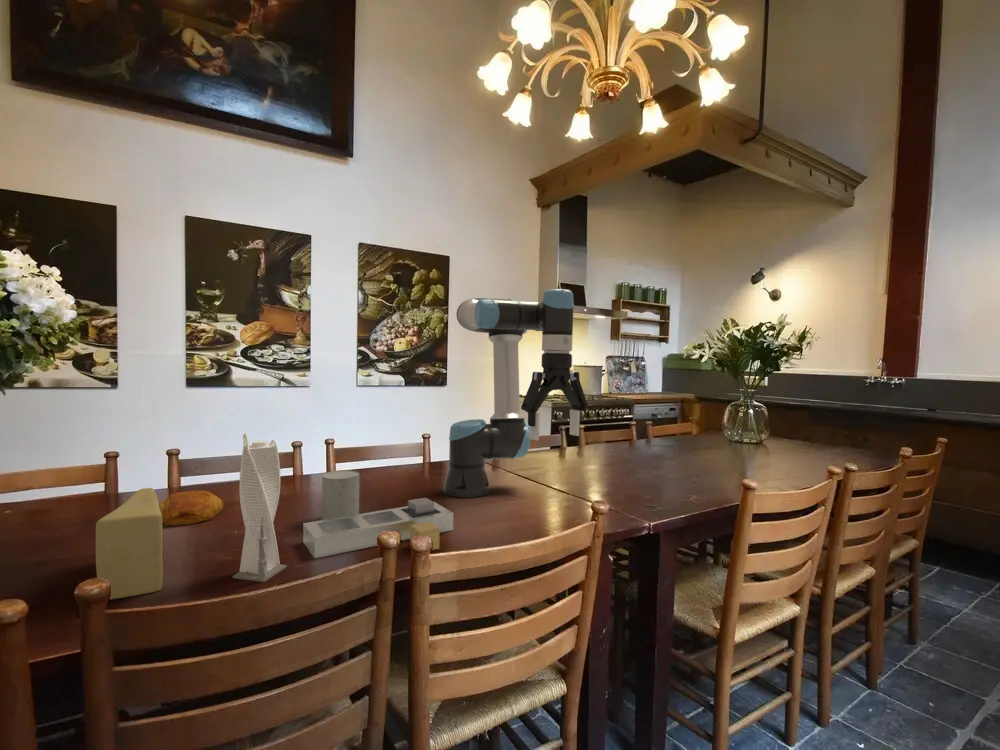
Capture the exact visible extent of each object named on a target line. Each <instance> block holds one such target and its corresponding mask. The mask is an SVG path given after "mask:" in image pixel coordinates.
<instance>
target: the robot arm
mask: <svg viewBox="0 0 1000 750" xmlns="http://www.w3.org/2000/svg"><path fill="white" fill-rule="evenodd" d="M457 307H458V308H456V320H457V321H458V323H459V326H461V327H462V328H464V329H466V330H468V331H471V332H476V333H484V334H488V340H489V341H490V342H491V343H492V347H493V348H492V350H493V353H492V355H493V357H492V358H493V401H494V402H493V405H494V406H493V407H494V408H493V411H494V413H493V414H492V415H491V417H490V418H489V423H487V422H486V420H484V419H480V418H477V419H475V418H474V419H466V420H461V421H456V422H454V423H452V425H451V426H450V427H449V428H450V429H449V438H448V441H449V456H448V457H449V458H448V459H449V463H448V464H449V465H448V469H447V474H446V477H445V480H444V483H443V490H442V491H443V494H445V495H448V496H449V497H450V496H451V497H454V498H478V497H484V496H486V495H488V494H489V493H490V481H489V477H488V475H487V473H486V469H485V464H486V463H485V461H486V460H500V459H503V460H504V459H510V460H513V459H519V458H523V457H525V456H526V455H527V453H528V451H529V449H530V446H531V441H540V413H539V412H538V411H539V409H540V408H541V406H542V405H543V403H544V402H545V400H546V398H547V397H548V396H549V394H550V393H551V392H552V391H557V390H560V391H561V392H562V393H563V395H564V396H565V398H566V399H567V401H568V402H569V404H570V406H571V407H572V409H570V410H569V435H570V436H575V437H579V436H580V423H581V420H582V418H581V417H582V411H585V409H586V408H587V407H588V402H587V399H586V395H585V393H584V389H583V387H582V383H581V381H580V379H581V378H580V372H578V371H570V369H572V367H573V355H572V353H571V352H572V351H573V330H574V329H573V327H574V307H575V304H574V293H573V292H572V291H571V290H569V289H562V288H557V289H556V288H555V289H554V288H553V289H547V290H545V291H544V292H543V296H542V301H529V300H527V301H526V300H525V301H524V300H518V299H512V298H509V299H508V298H506V299H505V298H487V297H485V298H482V297H475V298H470V299H466V300H464V301H463V302H461V303H460V304H459V306H457ZM528 331H536V332H542V333H541V334H542V336H541V351H543V353H542V354H541V367H542V369H543V370H542V371H533V372H532V374H531V375H532V376H531V382H530V384H529V387H528V389H527V392H526V393H525V396H524V399H523V401H522V404H521V406H520V366H519V360H520V359H519V342H521V341H522V339H523V335H525V334H526V333H527V332H528ZM520 409H521V410H522V411H524V412H526V413H527V422H525V417H524V415H522V414H521V410H520Z"/></svg>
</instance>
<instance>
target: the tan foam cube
mask: <svg viewBox="0 0 1000 750" xmlns="http://www.w3.org/2000/svg"><path fill="white" fill-rule="evenodd" d="M440 534H441V533H440V528H439V527H438V526H436V525H435V524H433V523H431V522H425V523H420V524H414V525H411V529H410V539H411V538H412V537H414V536H421V535H422V536H428V537H430V538H431V539H432V541H433V549H432V551H435V550H436V549H437V550H440ZM410 539H409V540H410Z"/></svg>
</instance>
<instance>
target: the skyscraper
mask: <svg viewBox="0 0 1000 750" xmlns="http://www.w3.org/2000/svg"><path fill="white" fill-rule="evenodd" d="M242 439H243V446H242V453H241V460H240V469H239V471H240V472H239V482H238V483H239V501H240V503H239V504H240V509H241V514H242V520H243V524H244V529H245V532H244V537H243V538H244V539H243V545H242V551H241V558H240V564H239V565H240V566H239V572H236V573H235V574H234V575H232V579H236V580H238V579H239V580H245V581H253V582H260V583H265V582H266V581H268V580H269V579H272V578H273V577H274V576H276V575H277V574H279V573H281V572H282V571H283V570H285V569H286V568H287V567H288V565H287V564H280V556H279V549H278V543H277V537H276V532H275V526H274V521H275V517H276V513H277V509H278V505H279V499H280V495H281V494H280V490H281V467H280V466H281V465H280V456H279V450H278V444H277V442H276V441H275V440H274V439H271V441H270V442H269V443H268V440H255V441H252V442H251V444H249V438H248V435H247V433H243V436H242Z"/></svg>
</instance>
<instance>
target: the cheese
mask: <svg viewBox="0 0 1000 750" xmlns="http://www.w3.org/2000/svg"><path fill="white" fill-rule="evenodd" d="M159 504H160V503H159V499H158V495H157V494H156V492H155V489H154V488H153V487H147V488H140V489H138V490H137V491H136V492H134V494H133V495H131V497H130V498H128V499H127V500H126V501H124V503H122V504H121V505H120V506H118V507H117V508H116V509H115V510H113V511H112V512H109V513H108V514H106V515H104V516H103V517H101V518H100V519H98V520H97V521H96V522H95V568H96V569H95V571H96V579H97V578H104V579H107V580H109V581H110V582H111V597H110V600H111V601H112V600H117V599H122V598H128V597H129V598H130V597H135V596H141V595H145V594H147V595H148V594H150V593H151V594H152V593H155V592H159V591H160V590H161V589H162V587H163V577H164V575H163V574H164V573H163V572H164V571H163V570H164V567H163V566H164V565H163V523H162V514H161V511H160V508H159ZM110 600H109V601H110Z"/></svg>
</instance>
